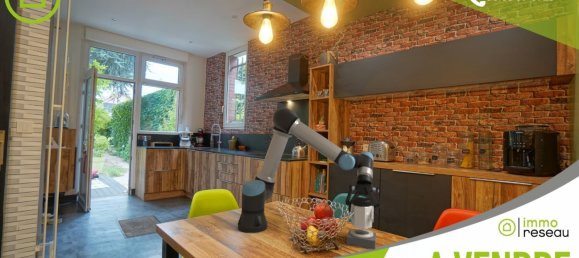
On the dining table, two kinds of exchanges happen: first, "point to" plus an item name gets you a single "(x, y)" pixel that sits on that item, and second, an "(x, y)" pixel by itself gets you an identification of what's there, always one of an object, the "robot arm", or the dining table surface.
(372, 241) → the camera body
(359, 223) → the jar
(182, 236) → the dining table surface
